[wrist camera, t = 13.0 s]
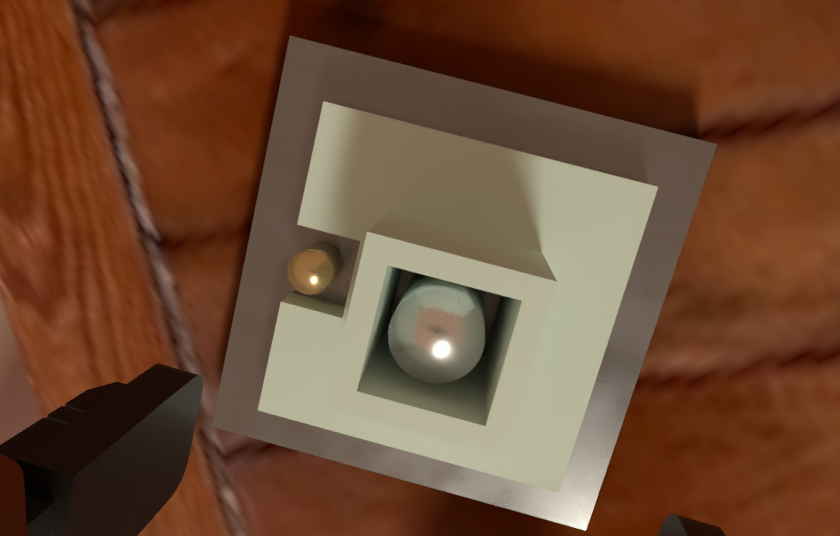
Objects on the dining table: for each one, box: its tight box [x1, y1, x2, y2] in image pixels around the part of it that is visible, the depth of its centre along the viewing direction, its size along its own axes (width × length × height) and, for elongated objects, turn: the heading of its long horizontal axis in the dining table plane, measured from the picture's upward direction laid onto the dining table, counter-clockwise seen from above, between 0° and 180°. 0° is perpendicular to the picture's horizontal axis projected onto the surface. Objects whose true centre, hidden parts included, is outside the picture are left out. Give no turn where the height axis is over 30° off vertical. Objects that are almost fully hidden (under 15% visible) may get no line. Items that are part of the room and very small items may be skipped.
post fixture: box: [212, 36, 717, 531], centre depth 25 cm, size 16×16×8 cm
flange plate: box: [258, 101, 658, 493], centre depth 23 cm, size 12×12×6 cm
